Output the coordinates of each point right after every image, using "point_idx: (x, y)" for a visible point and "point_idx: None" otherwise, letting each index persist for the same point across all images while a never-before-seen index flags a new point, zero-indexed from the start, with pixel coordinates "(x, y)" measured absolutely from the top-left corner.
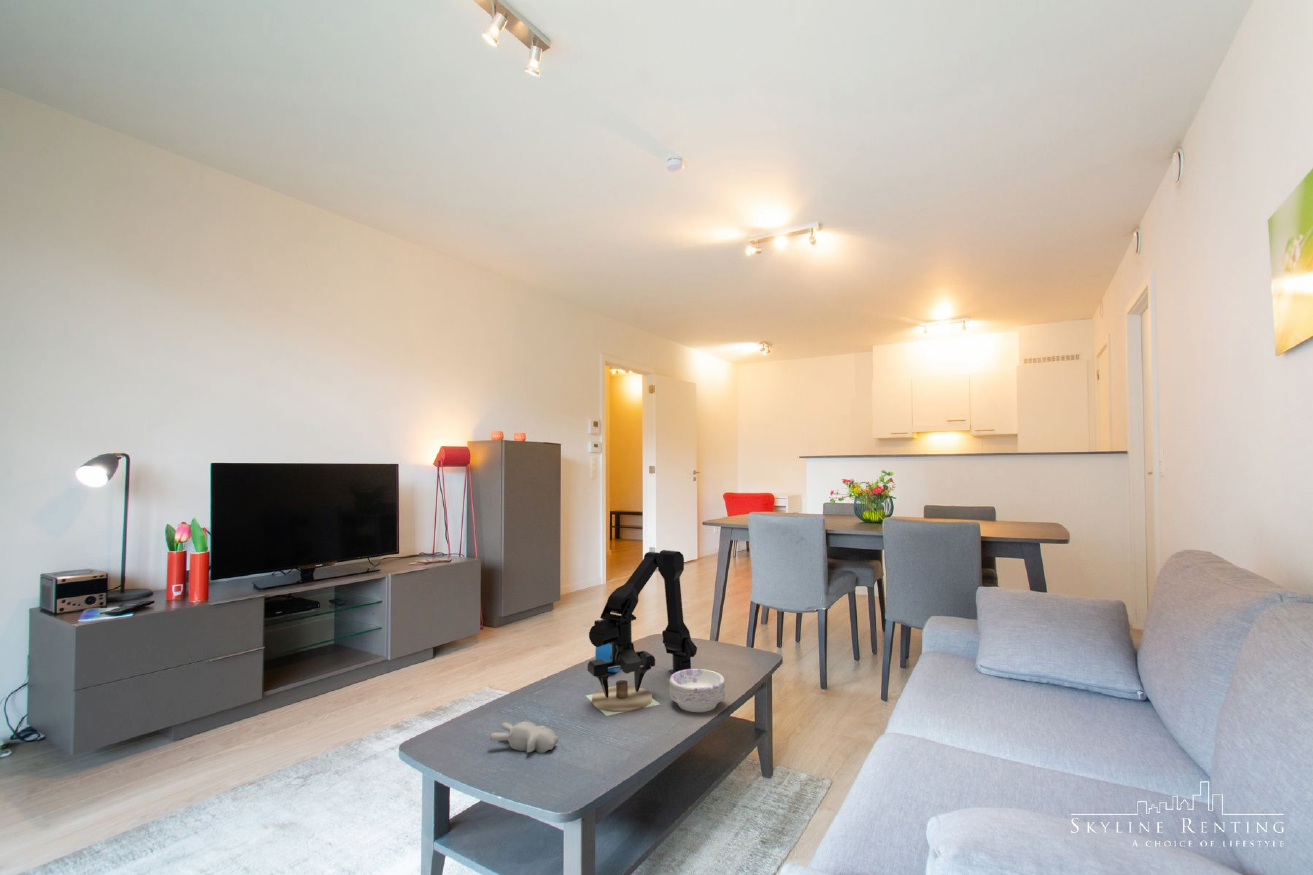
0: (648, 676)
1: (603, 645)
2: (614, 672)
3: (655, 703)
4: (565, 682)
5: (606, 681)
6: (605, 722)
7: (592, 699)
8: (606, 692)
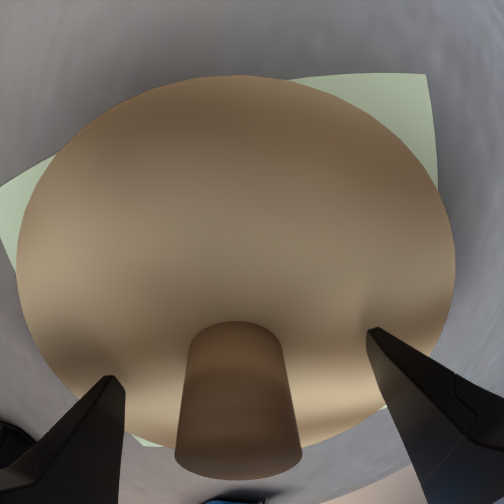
0: None
1: None
2: (224, 501)
3: (6, 213)
4: (386, 464)
5: (476, 421)
6: (424, 17)
7: (436, 336)
8: (407, 349)
